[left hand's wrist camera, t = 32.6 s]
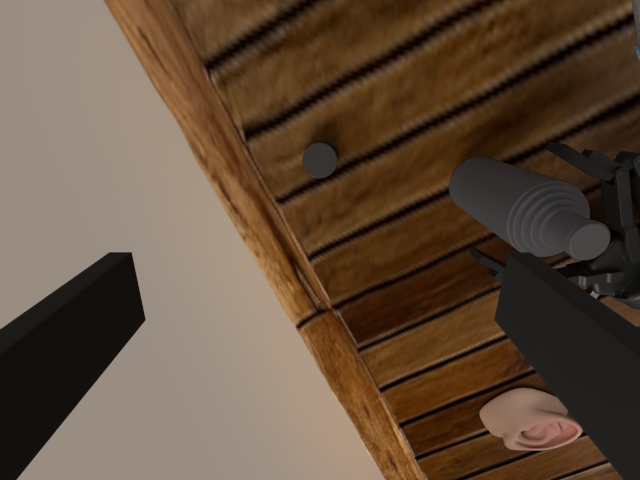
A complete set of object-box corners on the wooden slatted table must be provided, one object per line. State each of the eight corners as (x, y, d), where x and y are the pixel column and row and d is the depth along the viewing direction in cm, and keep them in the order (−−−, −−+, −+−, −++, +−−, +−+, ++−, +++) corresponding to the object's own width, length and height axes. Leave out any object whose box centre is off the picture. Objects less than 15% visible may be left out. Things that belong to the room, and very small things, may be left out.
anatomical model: (477, 441, 55) (530, 393, 51) (467, 420, 58) (516, 373, 55) (540, 474, 57) (594, 429, 54) (526, 451, 61) (577, 408, 57)
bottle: (485, 217, 46) (599, 295, 27) (439, 199, 45) (523, 266, 26) (514, 168, 44) (660, 216, 25) (466, 147, 43) (579, 181, 24)
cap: (343, 156, 43) (344, 159, 41) (321, 181, 44) (321, 185, 42) (318, 133, 42) (318, 135, 40) (296, 159, 43) (295, 162, 41)
